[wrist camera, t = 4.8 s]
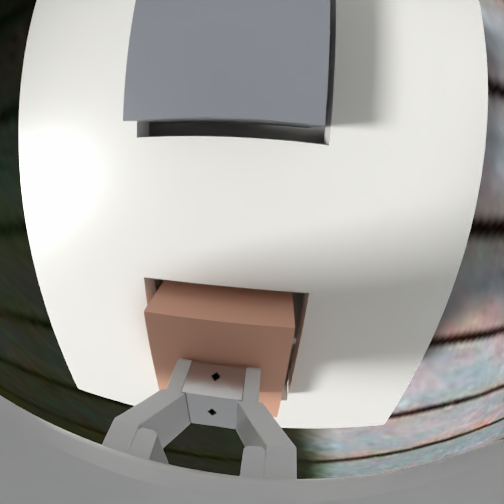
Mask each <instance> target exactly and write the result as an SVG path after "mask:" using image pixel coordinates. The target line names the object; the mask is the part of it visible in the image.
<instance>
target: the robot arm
mask: <svg viewBox="0 0 504 504" xmlns="http://www.w3.org/2000/svg"><path fill="white" fill-rule="evenodd" d="M260 377H261V368H254V367H247V369H246V367H242V366H232V365H223V364H214V363H207V362H201V361H195V360H188V359H183V358H179V359H178V361H177V363H176V365H175V368H174V370H173V373H172V375H171V378H170V380H169V383H168V385H167V388H166V389H161V390H159V391H158V392H156V393H155V394H153V395H152V396H150V397H148V398H147V399H145V400H144V401H142V402H140V403H139V404H137V405H136V406H134V407H132V408H131V409H129V410H127V411H126V412H124V413H123V414H121V415H119V416H118V417H116V418H114V421H113V423H112V425H111V427H110V429H109V431H108V433H107V435H106V437H105V439H104V441H103V444H102V445H101V444H98V443H95V442H93V441H90V440H88V439H85V438H83V437H80V436H78V435H75V434H73V433H71V432H68V431H66V430H64V429H62V428H59V427H57V426H55V425H53V424H51V423H49V422H47V421H45V420H43V419H41V418H39V417H37V416H35V415H33V414H31V413H30V412H28V411H26V410H24V409H22V408H21V407H19V406H17V405H15V404H14V403H12V402H10V401H9V400H7V399H5V398H4V397H2V396H1V395H0V504H504V439H501V440H498V441H496V442H493V443H491V444H488V445H486V446H483V447H480V448H478V449H475V450H472V451H469V452H466V453H463V454H460V455H457V456H454V457H450V458H447V459H443V460H440V461H436V462H432V463H428V464H424V465H420V466H415V467H411V468H406V469H401V470H395V471H390V472H384V473H377V474H370V475H362V476H352V477H341V478H325V479H297V465H296V447H295V445H294V444H293V443H292V442H291V440H290V439H289V438H288V436H287V435H286V434H285V432H284V431H283V430H282V428H281V427H280V426H279V424H278V423H277V422H276V420H275V419H274V418H273V416H272V415H271V414H270V412H269V411H268V409H267V408H266V407H265V405H264V404H263V403H260V402H259V389H260ZM190 423H197V424H204V425H212V426H218V427H225V428H232V429H236V431H237V433H238V435H239V437H240V439H241V440H242V442H243V444H244V446H245V448H244V450H243V457H242V465H241V472H240V476H233V475H225V474H217V473H211V472H204V471H198V470H193V469H187V468H182V467H178V466H173V465H169V463H168V461H167V458H166V456H165V453H164V451H163V448H164V447H165V446H166V445H167V444H168V443H169V442H170V441H172V440H173V439H174V438H175V437H176V436H177V435H178V434H179V433H181V432H182V431H183V430H184V429H185V428H186V427H187V426H188V425H189V424H190Z"/></svg>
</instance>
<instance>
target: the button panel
mask: <svg viewBox="0 0 504 504" xmlns="http://www.w3.org/2000/svg"><path fill="white" fill-rule="evenodd" d="M135 2H136V0H37V1H36V4H35V8H34V12H33V16H32V20H31V24H30V29H29V33H28V38H27V44H26V49H25V56H24V62H23V70H22V78H21V89H20V102H19V165H20V179H21V190H22V199H23V207H24V214H25V220H26V227H27V232H28V238H29V243H30V248H31V253H32V257H33V262H34V266H35V270H36V274H37V278H38V282H39V285H40V289H41V292H42V296H43V299H44V303H45V306H46V309H47V312H48V315H49V318H50V321H51V324H52V327H53V330H54V332H55V335H56V338H57V340H58V343H59V346H60V348H61V351H62V353H63V356H64V358H65V360H66V363H67V365H68V367H69V370H70V372H71V374H72V376H73V378H74V381H75V383H76V385H77V387H78V389H81V390H84V391H87V392H90V393H93V394H96V395H99V396H102V397H105V398H109V399H112V400H116V401H119V402H123V403H126V404H130V405H134V406H136V405H137V404H139V403H140V402H142V401H144V400H145V399H147V398H148V397H150V396H152V395H153V394H155V393H156V392H158V391H159V387H158V383H157V378H156V374H155V369H154V365H153V360H152V355H151V350H150V345H149V340H148V334H147V329H146V323H145V317H144V310H145V308H146V307H147V305H148V304H149V302H150V301H151V299H152V298H153V296H154V295H155V293H156V292H157V290H158V289H159V287H160V286H161V284H162V283H163V281H164V280H171V281H180V282H189V283H199V284H209V285H218V286H229V287H239V288H251V289H262V290H274V291H287V292H292V296H293V307H294V319H295V332H294V337H293V343H292V348H291V353H290V359H289V364H288V369H287V374H286V378H285V383H284V388H283V393H282V397H281V402H280V407H279V411H278V415H277V417H273V418H274V419H275V420H276V422H277V423H278V424H279V426H280V427H281V428H346V427H363V426H375V425H384V424H385V423H386V421H387V420H388V418H389V416H390V415H391V413H392V412H393V410H394V409H395V407H396V405H397V404H398V402H399V400H400V399H401V397H402V395H403V394H404V392H405V390H406V388H407V387H408V385H409V383H410V381H411V379H412V378H413V376H414V374H415V372H416V370H417V368H418V366H419V364H420V362H421V360H422V359H423V357H424V354H425V352H426V350H427V348H428V346H429V344H430V342H431V340H432V338H433V335H434V333H435V331H436V329H437V326H438V324H439V322H440V319H441V317H442V315H443V312H444V310H445V307H446V305H447V302H448V299H449V297H450V294H451V291H452V289H453V286H454V283H455V280H456V277H457V274H458V271H459V268H460V265H461V262H462V258H463V255H464V252H465V248H466V245H467V241H468V237H469V234H470V230H471V226H472V221H473V217H474V213H475V208H476V203H477V198H478V193H479V188H480V182H481V175H482V169H483V161H484V153H485V144H486V132H487V115H488V71H487V55H486V44H485V35H484V27H483V20H482V14H481V9H480V3H479V0H330V45H329V70H328V89H327V104H326V118H325V126H319V127H312V128H299V127H289V126H278V125H265V124H248V123H221V122H179V123H170V122H146V121H123V106H124V89H125V75H126V65H127V55H128V47H129V39H130V32H131V25H132V19H133V13H134V7H135Z"/></svg>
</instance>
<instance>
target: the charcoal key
mask: <svg viewBox="0 0 504 504" xmlns="http://www.w3.org/2000/svg"><path fill="white" fill-rule="evenodd" d="M329 45H330V0H136V2H135V7H134V13H133V19H132V25H131V32H130V39H129V47H128V55H127V65H126V75H125V89H124V106H123V121H146V122H170V123H179V122H221V123H248V124H265V125H278V126H289V127H299V128H312V127H319V126H325V118H326V104H327V89H328V70H329Z"/></svg>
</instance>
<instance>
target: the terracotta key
mask: <svg viewBox="0 0 504 504" xmlns="http://www.w3.org/2000/svg"><path fill="white" fill-rule="evenodd" d="M144 317H145V323H146V329H147V334H148V340H149V345H150V350H151V355H152V360H153V365H154V369H155V374H156V378H157V383H158V387H159V390H161V389H166V388H167V385H168V383H169V380H170V378H171V375H172V373H173V370H174V368H175V365H176V363H177V361H178V359H179V358H183V359H188V360H195V361H201V362H207V363H214V364H223V365H232V366H242V367H246V369H247V367H254V368H261V377H260V389H259V402H260V403H263V404H264V405H265V407H266V408H267V409H268V411H269V412H270V414H271V415H272V416H273V417H277V415H278V411H279V407H280V402H281V397H282V393H283V388H284V383H285V378H286V374H287V369H288V364H289V359H290V353H291V348H292V343H293V337H294V332H295V319H294V307H293V296H292V292H287V291H274V290H262V289H251V288H239V287H229V286H218V285H209V284H199V283H189V282H180V281H171V280H164V281H163V283H162V284H161V286H160V287H159V289H158V290H157V292H156V293H155V295H154V296H153V298H152V299H151V301H150V302H149V304H148V305H147V307H146V308H145V310H144Z"/></svg>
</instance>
